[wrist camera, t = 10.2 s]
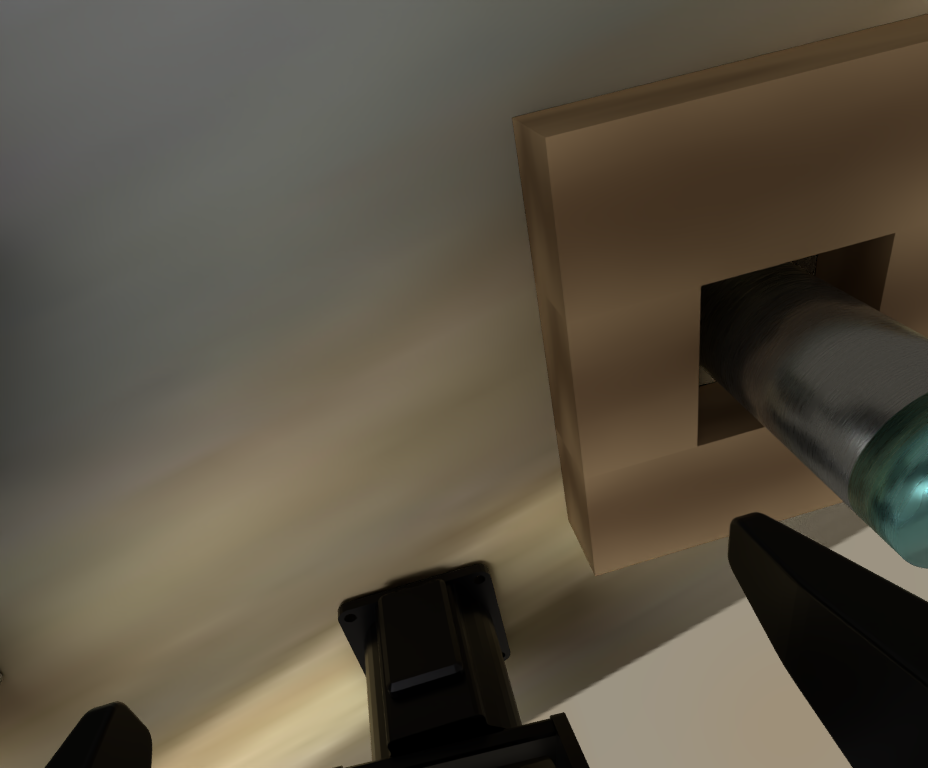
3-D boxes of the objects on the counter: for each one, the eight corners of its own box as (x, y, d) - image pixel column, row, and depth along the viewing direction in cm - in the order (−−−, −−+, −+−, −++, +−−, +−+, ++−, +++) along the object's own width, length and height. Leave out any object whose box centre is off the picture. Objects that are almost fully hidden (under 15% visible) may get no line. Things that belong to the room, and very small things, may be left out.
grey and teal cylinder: (785, 344, 23) (1047, 537, 15) (675, 375, 23) (880, 589, 15) (798, 233, 21) (1120, 389, 12) (675, 267, 21) (920, 448, 12)
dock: (877, 429, 27) (935, 474, 24) (568, 520, 26) (595, 576, 23) (974, 2, 18) (1082, 2, 15) (511, 117, 17) (545, 137, 15)
